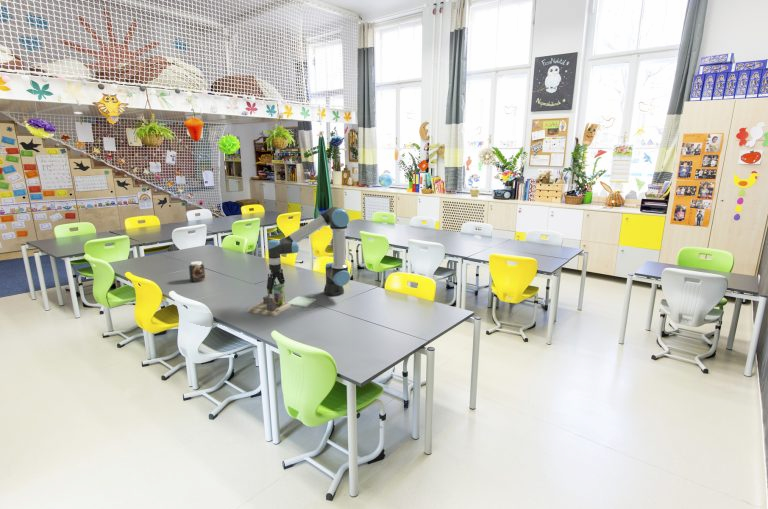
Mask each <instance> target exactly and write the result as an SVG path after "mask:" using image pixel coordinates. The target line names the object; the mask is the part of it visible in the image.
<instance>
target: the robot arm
mask: <svg viewBox="0 0 768 509" xmlns="http://www.w3.org/2000/svg"><path fill="white" fill-rule="evenodd" d="M349 221H350V216H349V212H347V211H346V210H345V209H343V208H339V207H336V206H333V207H332V206H331V207H330V208H328V209H326V210H325V211H323V212H321V213H320V214H318V217H316V218H314V219H313V220H311V221H310V222H308V223H306V224H305V225H303V226H302V227H299V229H297V230H295V231H293V232H292V233H290V234H289V235H287V236H286V237H282V238H280V239H270V240H268V241H267V251H268V254H267V255H268V268H269V271H270V273H267V281H266V282H267V283H266V289H269V294H270V298H272V299H274V289H273V285H274V284H275V283H274V281H276V279H277V281H278V284H280V285H285V282H286V280H285V276H284V273H283V272H284V270H283V269H282V261H281V260H282V258H281V255H287V254H289V255H290V254H296V253H298V252H299V249H300V247H299V243H300V242H301V241H302V240H304V239H305V238H308V237H309V236H311V235H313V234H314V233H315V232H317V231H319V230H320V229H322V228H323V227H327V226H329V227H330V230H331V231H332V254H333V258H332V259H333V260H332V261H333V262H332V261H331V262H328V263H327V262H326V264H325V267H324V268H325V284H324V289H323V294H324V295H326V296H330V297H331V296H332V297H333V296H334V297H335V296H336V297H337V296H341V295H344V293H345V289H344V286H346V285H348V283H349V282H350V281H351V274H350V272H349V265H348V264H347V260H346V259H347V258H346V230H347V229H348V224H349Z"/></svg>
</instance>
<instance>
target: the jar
mask: <svg viewBox="0 0 768 509" xmlns="http://www.w3.org/2000/svg"><path fill="white" fill-rule="evenodd" d="M188 273H189V282H190V283H202V282H205V281H206V271H205V265H204V263H202V261H201V260H199V261H198V260H196V261H191V262H190V264H189V265H188Z"/></svg>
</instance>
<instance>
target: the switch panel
mask: <svg viewBox="0 0 768 509" xmlns="http://www.w3.org/2000/svg"><path fill="white" fill-rule="evenodd" d="M291 306H292V305H291V303H287V302H285V301H284V302H283V303H282V305H276V309H275V310H273V311H270V310H267V304H266V303H263V300H262V301H260V302H258V303H257V304H255V305H253V306H251V307H249V308H248V309H247V312H248V313H251V314H252V313H253V314H259V315H267V316H271V317H275V316H277V315H279V314H281V313H282V312H283V311H285V310H287V309H289V308H290V307H291Z"/></svg>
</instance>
